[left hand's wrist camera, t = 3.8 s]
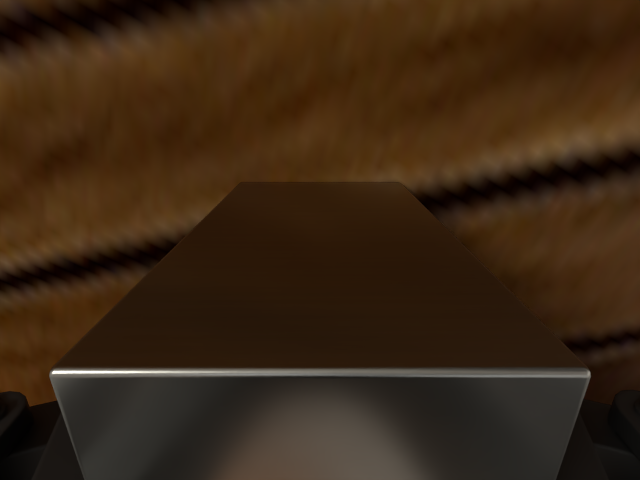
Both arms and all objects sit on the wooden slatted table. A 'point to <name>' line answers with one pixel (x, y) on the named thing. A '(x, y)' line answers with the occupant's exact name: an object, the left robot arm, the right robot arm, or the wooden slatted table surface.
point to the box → (320, 353)
